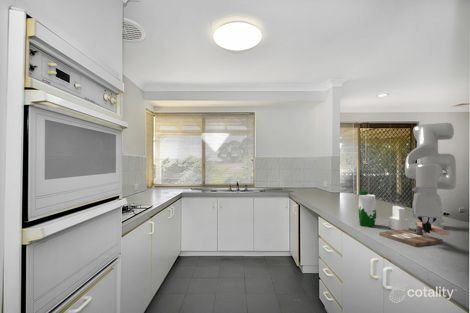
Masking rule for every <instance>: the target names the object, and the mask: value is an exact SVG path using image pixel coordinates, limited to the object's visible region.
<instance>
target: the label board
mask: <svg viewBox="0 0 470 313" xmlns="http://www.w3.org/2000/svg"><path fill="white" fill-rule="evenodd" d="M423 232H424V230H422V227H420V226H417V225H416V231H412V230H405V229H403V230H389V231H386V230H385V231H379V234H378V235H379V236H381V237H384V238H388V239H390V240H393V241H396V242H399V243H402V244H404V245H405V244H406V245H409V246H412V247H414V248H417V247H423V246H424V247H425V246H430V245H437V244H443V243H444V241H443V239H442V238H440V237H439V238H438V237H435V236H432V235H428V234H424V233H423Z"/></svg>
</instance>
